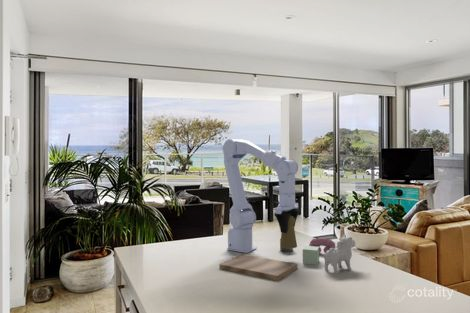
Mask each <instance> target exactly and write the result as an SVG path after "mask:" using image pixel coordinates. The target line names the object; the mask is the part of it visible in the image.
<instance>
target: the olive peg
mask: <svg viewBox="0 0 470 313" xmlns="http://www.w3.org/2000/svg"><path fill="white" fill-rule="evenodd" d="M294 223H295V224H296V222H295V218H294V217H293V216H290V218H289V222H288V230H287V233H282V232H281V231H280V234H281V235H280V238H281V243H280V242H279V248H280V247H281V248H293V249H296V248H297V247H298V244H297V237H296V231H295V227H294Z"/></svg>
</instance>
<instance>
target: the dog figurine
mask: <svg viewBox="0 0 470 313" xmlns="http://www.w3.org/2000/svg"><path fill="white" fill-rule="evenodd" d="M355 246H356V242H355V240H354V239H353V237H352V236H348V237H347V234H343V235H342V237H341V238H340V240H338V241H337V242H336V245H335V247H336V248H331V249H329V250H328V251H326V253H324V254H323V259H324V270H325V271H326V272H327V271H329V266H332V267H333V274H339V271H338V267H340V268H341V267H343V264H342V262H343V261H344V264H345V266H346V267H347V268H346V269H347V270H349V269H351V270H352V267H351V259H352V256H353V253H352V249H353V248H355Z"/></svg>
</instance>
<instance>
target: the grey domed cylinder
mask: <svg viewBox="0 0 470 313" xmlns="http://www.w3.org/2000/svg"><path fill="white" fill-rule="evenodd" d="M280 243H281V237H280V239H279V244H280ZM279 251H280V252H282V253H292V252H293V251H294V248H281V247H280V246H279Z"/></svg>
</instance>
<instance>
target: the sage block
mask: <svg viewBox="0 0 470 313" xmlns="http://www.w3.org/2000/svg"><path fill="white" fill-rule="evenodd" d="M319 247H320V246H319ZM319 247H315V246H309V245H304V246H303V248H302V264H304V265H305V264H306V265H314V266H315V265H318V264H319V262H320V253H319Z"/></svg>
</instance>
